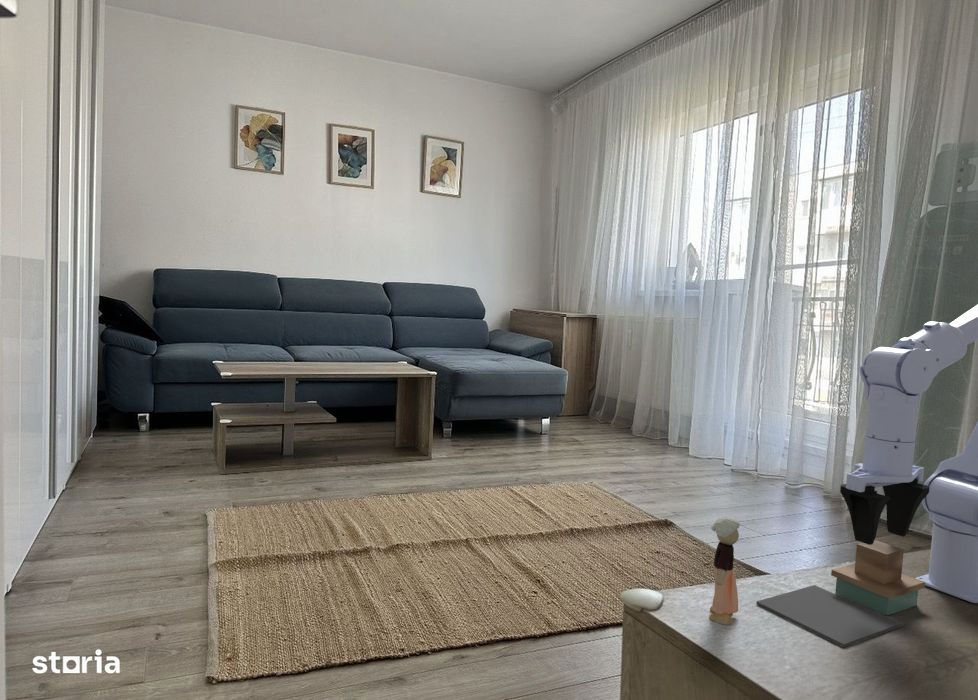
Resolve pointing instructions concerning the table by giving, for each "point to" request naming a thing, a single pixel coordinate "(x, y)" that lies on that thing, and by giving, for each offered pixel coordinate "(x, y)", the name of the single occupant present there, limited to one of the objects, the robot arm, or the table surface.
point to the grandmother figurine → (725, 571)
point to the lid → (879, 571)
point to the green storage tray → (875, 598)
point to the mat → (829, 615)
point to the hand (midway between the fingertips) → (880, 538)
